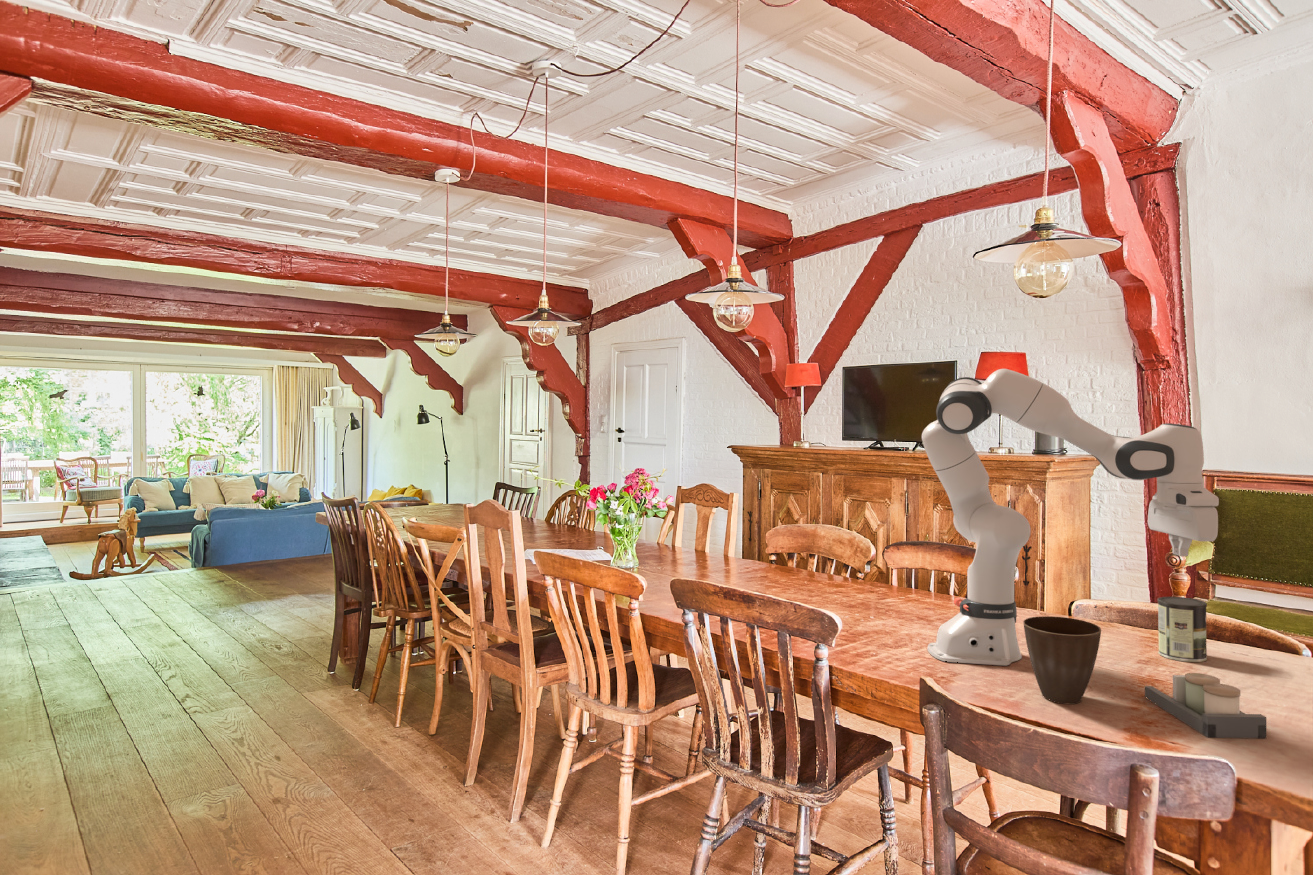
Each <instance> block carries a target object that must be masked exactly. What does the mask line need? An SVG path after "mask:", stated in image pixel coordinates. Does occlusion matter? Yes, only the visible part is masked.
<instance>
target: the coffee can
mask: <svg viewBox="0 0 1313 875" xmlns="http://www.w3.org/2000/svg"><path fill="white" fill-rule="evenodd" d="M1207 606H1208V603H1207V602H1206V601H1204V600H1200V599H1197V598H1191V597H1182V596H1161V597H1158V598H1157V612H1158V613H1157V616H1158V619H1157V620H1158V622H1157V623H1158V625H1157V626H1158V652H1157V653H1158V655H1159V654H1160V656H1161V657H1164V658H1166V659H1169V660H1173V661H1179V662H1186V663H1202V662H1206V661H1207V660H1208V657H1207V656H1208V655H1207V654H1208V653H1207V608H1208V607H1207Z"/></svg>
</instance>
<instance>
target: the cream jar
mask: <svg viewBox="0 0 1313 875" xmlns="http://www.w3.org/2000/svg"><path fill="white" fill-rule="evenodd" d="M1203 690H1204V713H1205V714H1240V711H1241V710H1240V708H1241V707H1240V697H1241V689H1239V688H1237V687H1235V686H1233V685H1229V684H1225V683H1220V684H1219V683H1206V684H1204V685H1203Z"/></svg>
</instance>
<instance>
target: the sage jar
mask: <svg viewBox="0 0 1313 875" xmlns="http://www.w3.org/2000/svg"><path fill="white" fill-rule="evenodd" d="M1184 675H1185V680H1186V707H1188V708H1189V709H1191V710H1193V711H1194V712H1196V713H1198V714H1199V715H1201V716H1203V713H1204V690H1203V685H1204V684H1206V683H1219V684H1221V679H1220V678H1218V677H1216V676H1214V675H1210V674H1205V673H1200V672H1188V673H1184Z"/></svg>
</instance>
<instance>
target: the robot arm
mask: <svg viewBox="0 0 1313 875" xmlns="http://www.w3.org/2000/svg"><path fill="white" fill-rule="evenodd" d="M935 414H936V420H934V421H933V422H930V423H929V424H928V425H927V426H926V427H925V428H924V429H923V430H922V433H921V442H922V444H923V448H924V451H925V453H926V455H927V458H928V461H929V463H930V465H931V466H932V468H933V471H934V472H935V474H936V476H937V478H938V479H939V482H940V484H941V485H942V487H943V489H944V491H945V493H946V495H947V496H948V499H949V502H950V506H951V509H952V513H953V519H952V520H953V526H954V529H955V530H956V531H957V532H958V534H960V535H961V537H963V538H964V539H966V540H968V541H969V542H972V543H975V544H976V549H975V554H974V557H973V561H972V562H971V563H970V564H969V565H968V568H967V575H966V577H967V580H966V581H967V583H966V585H967V588H966V590H967V597H966V598H965V599H961V598H960V597H956V598H954V599H953V604H954V605H955V606H957V607H958V608H959V612H958V613H956V614H955V615H954V616H953V617H952V618H950V619H948V620H947V621H945V622H944V623H942V624H941V625H940V626H939V628H938V629H937V634H936V642H930V643H928V644H927V651H928V653H929V654H930V655H931V656H932V657H933V658H935V659H937V660H939V661H942V662H945V661H947V662H946V663H957V662H958V664H959V663H961V664H977V665H991V666H992V665H993V666H1009V665H1010V664H1011V663H1014V662H1017V661H1020V660H1021V659H1022V658H1023V656H1022V653H1021V649H1020V646H1019V641H1018V635H1017V628H1016V623H1017V617H1018V616H1017V613H1018V612H1017V603H1016V602H1017V601H1015V571H1016V566H1017V561H1018V558H1019V556H1020V552H1021V549H1022V548H1023V547H1024V546H1025V545H1026V544H1027V543H1028V541H1029V540H1030V537H1031V530H1032V529H1031V525H1030V522H1029V520H1028V519H1027V518H1026V516H1024V515H1023V514H1022V513H1020V512H1019V511H1017V510H1016V509H1014V508H1012V507H1009V506H1004V505H1001V504H1000V505H999V504H997V503H996V502H995V501H994V500H993V497H992V495H991V491H990V487H989V484H990V476H989V473H988V471H987V470H986V468H985V465H984V464H983V462H982V461H981V459H980V457H979V455H978V453H977V451H976V450H975V447H974V446H973V444H972V442H971V440H970V438H969V434H968V433H970V432H972V431H974V430H975V429H976V428H978V427H980V425H981V424H983V423H984V422H985V421H986V420H988V419H989V418H990V417H991V416H992V414H997V415H1001V416H1003V417H1005V418H1007V419H1009V420H1011V421H1012V422H1014V423H1016V424H1018V425H1019V426H1021V427H1024V428H1027V429H1029V430H1031V431H1032V432H1033V431H1034V432H1037V433H1038V434H1039V433H1040V434H1043V435H1047V436H1052V437H1055V438H1059V439H1061V440H1064V441H1066V442H1068V443H1069V444H1072V445H1074V446H1076V447H1077V448H1079V449H1080V450H1083V451H1084V452H1086V453H1087V454H1089V455H1091V456H1092V457H1094V458H1095V459H1096V460H1097V461H1098V462H1099V464H1100V465H1101V467H1102V468H1103V469H1104V470H1105V471H1106V472H1107V473H1108V474H1110V475H1111V476H1113V477H1116V478H1118V479H1124V480H1125V479H1128V480H1131V481H1145V480H1148V479H1154V478H1156V492H1155V494H1154V495H1153V496H1152V497H1151V498H1152V499H1151V500H1150V501H1149V506H1148V513H1147V526H1148V529H1150V530H1151V531H1154V532H1155V531H1156V532H1159V533H1164V534H1167V535H1168V540H1169V542H1170V545H1171V547H1172V555H1175V556H1179V557H1188V556H1189V549H1190V547H1191V545H1192V543H1193V541H1196V542H1197V541H1198V542H1215V540H1216V539H1217V538H1218V534H1219V532H1218V531H1219V514H1218V510H1217V508H1216V507H1218V506H1219V505H1220V504H1219V503H1220V500H1219V497H1218V496H1217V495H1216V494H1214V493H1213V492H1211V491H1210V490H1208V489H1207V488H1206V487H1205V481H1204V478H1203V467H1204V464H1205V457H1204V456H1205V455H1204V442H1203V438H1202V434H1201V432H1200V430H1199V429H1198V428H1196V427H1194V426H1191V425H1186V424H1180V423H1171V422H1169V423H1162V424H1160V425H1159V426H1158V427H1156V428H1154V429H1153V430H1150V431H1148V432H1147V433H1144V434H1142V435H1138V436H1135V437H1127V436H1119V435H1118V436H1117V435H1113V434H1110V433H1108V432H1107V431H1104V430H1102V429H1100V428H1099V427H1097V426H1095V425H1094V424H1091V423H1090V422H1088V421H1086V420H1084V419H1083V418H1081V417H1080V416H1079V415H1077V414H1076V413H1075V411H1074V410H1073V409H1072V407H1071V404H1070V402H1069V400H1068V399H1067V397H1065V396H1064V395H1062V394H1061V393H1060V392H1058V391H1057V390H1056V389H1054V388H1053V387H1051V386H1049V385H1047V384H1045V383H1044V382H1042V381H1039V380H1038V379H1036V378H1033V377H1031V376H1029V375H1025V374H1024V373H1020V372H1018V371H1016V370H1011V369H1008V368H999V369H996V370H995V371H993V372H992V373H991V374H989V376H988V377H987V378H986V379H985V380H984V382H983V383H982V382H981V381H980V380H978V379H976V378H974V377H969V376H963V377H959V378H956V379H954V380H952V381H951V382H949V383H948V385H947V386H946V388H945V389H944V390H943V391H942V393H941V395H940V397H939V401H938V403H937V405H936V410H935Z"/></svg>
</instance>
